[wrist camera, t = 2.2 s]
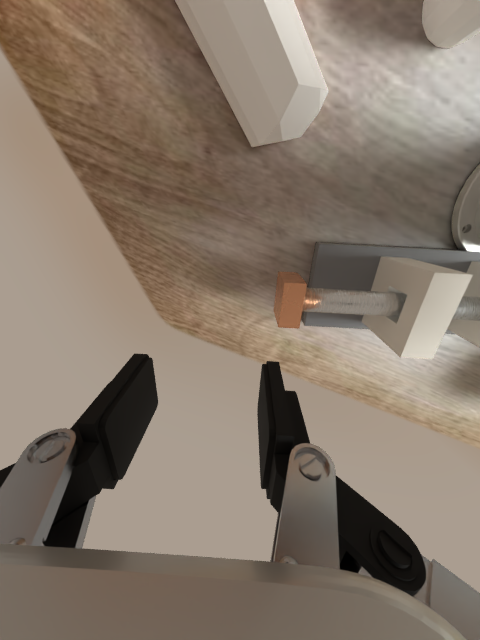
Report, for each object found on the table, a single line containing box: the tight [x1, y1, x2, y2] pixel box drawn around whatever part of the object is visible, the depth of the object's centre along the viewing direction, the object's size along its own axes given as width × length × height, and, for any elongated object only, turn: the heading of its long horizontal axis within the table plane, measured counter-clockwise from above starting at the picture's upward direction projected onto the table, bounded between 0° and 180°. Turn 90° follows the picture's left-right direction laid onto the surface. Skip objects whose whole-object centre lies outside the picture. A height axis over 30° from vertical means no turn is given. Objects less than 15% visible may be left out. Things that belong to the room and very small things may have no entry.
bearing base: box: [302, 242, 480, 359], centre depth 24 cm, size 24×10×10 cm, turn 87°
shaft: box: [274, 272, 480, 328], centre depth 23 cm, size 20×4×4 cm, turn 87°
